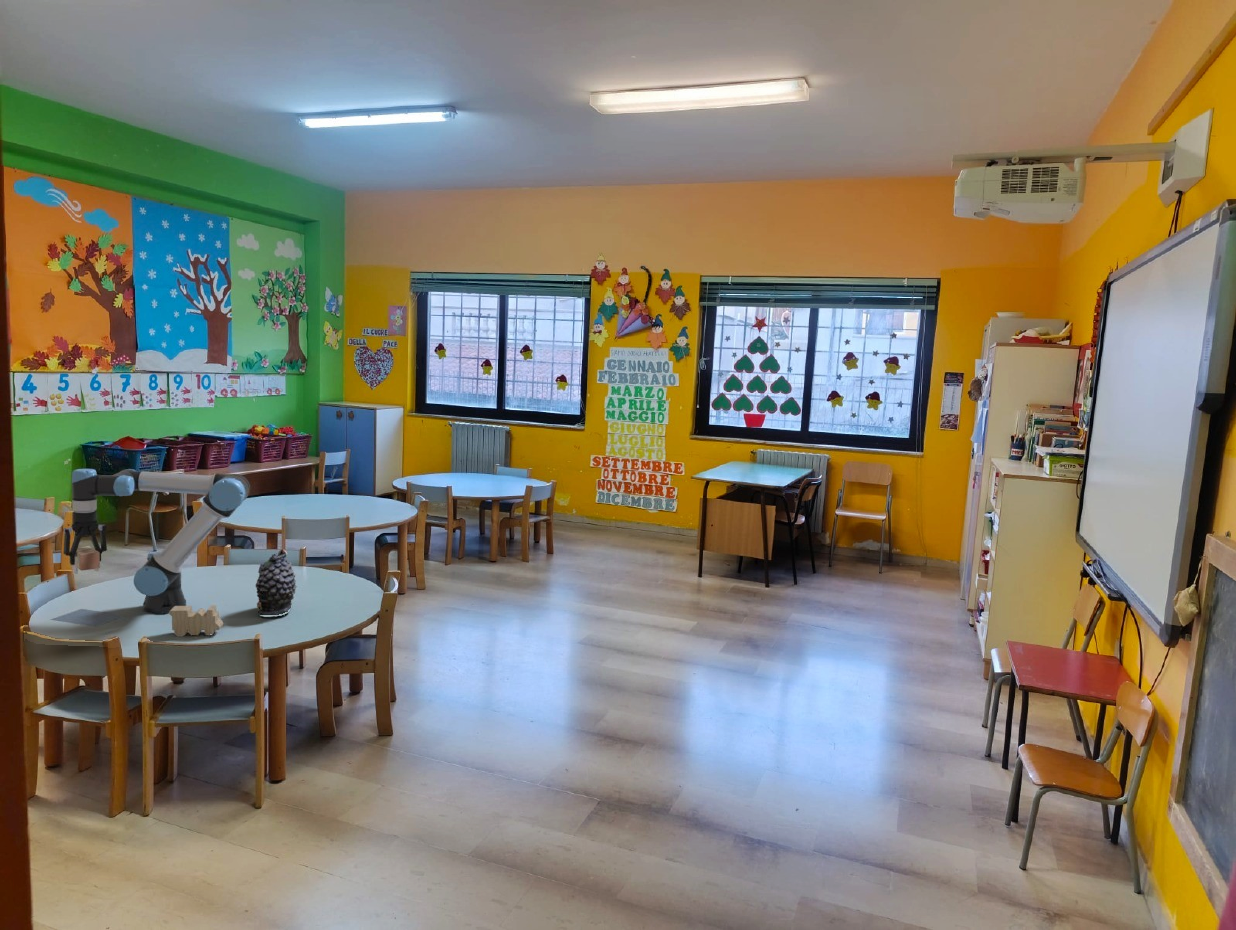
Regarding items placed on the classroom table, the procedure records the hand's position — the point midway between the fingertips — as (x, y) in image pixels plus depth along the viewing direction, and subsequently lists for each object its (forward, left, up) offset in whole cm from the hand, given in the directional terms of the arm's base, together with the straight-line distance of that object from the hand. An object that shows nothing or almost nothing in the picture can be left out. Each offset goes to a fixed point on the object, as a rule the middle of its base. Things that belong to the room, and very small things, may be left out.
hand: (85, 571), depth 301 cm
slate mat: (+1, -2, -19) cm, 19 cm away
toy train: (-45, -2, -19) cm, 49 cm away
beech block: (+6, -3, +5) cm, 8 cm away
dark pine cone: (-56, -34, -19) cm, 68 cm away
